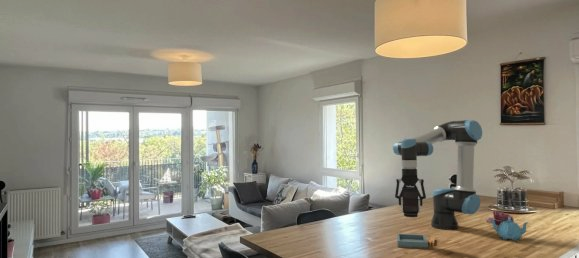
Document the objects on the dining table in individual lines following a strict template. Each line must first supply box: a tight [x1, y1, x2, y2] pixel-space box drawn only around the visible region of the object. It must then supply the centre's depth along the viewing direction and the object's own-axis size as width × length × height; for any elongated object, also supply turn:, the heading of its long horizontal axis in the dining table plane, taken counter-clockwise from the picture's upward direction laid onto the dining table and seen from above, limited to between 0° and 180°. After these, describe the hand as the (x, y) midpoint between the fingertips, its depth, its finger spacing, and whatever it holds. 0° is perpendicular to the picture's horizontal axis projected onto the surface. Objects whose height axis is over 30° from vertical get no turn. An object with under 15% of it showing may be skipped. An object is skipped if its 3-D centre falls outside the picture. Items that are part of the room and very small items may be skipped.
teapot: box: [490, 217, 530, 242], centre depth 187 cm, size 13×13×10 cm
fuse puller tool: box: [429, 236, 436, 246], centre depth 184 cm, size 10×2×2 cm, turn 154°
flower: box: [485, 210, 515, 227], centre depth 209 cm, size 15×15×10 cm
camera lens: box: [401, 186, 419, 218], centre depth 183 cm, size 8×8×15 cm
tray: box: [396, 233, 429, 250], centre depth 183 cm, size 14×14×3 cm
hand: (410, 211), depth 183 cm, fingers closed on camera lens, 8 cm apart
